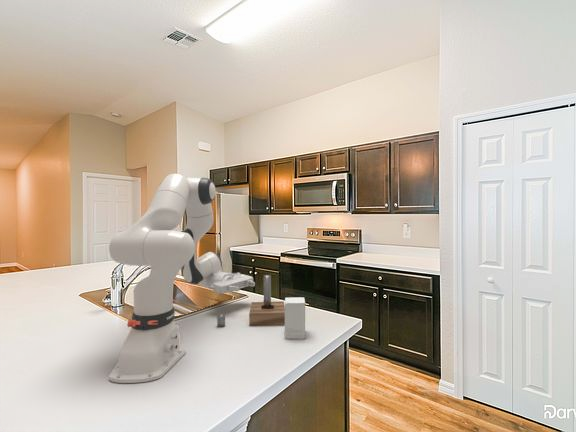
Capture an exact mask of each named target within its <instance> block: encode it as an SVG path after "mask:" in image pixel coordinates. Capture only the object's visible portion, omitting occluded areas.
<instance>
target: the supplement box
mask: <svg viewBox="0 0 576 432" xmlns="http://www.w3.org/2000/svg"><path fill="white" fill-rule="evenodd" d="M284 306H285V325H284V339H287V340H288V339H291V340H292V339H293V340H294V339H295V340H298V339H299V340H301V339H302V340H303V339H306V300H305V297H301V296H300V297H299V296H298V297H295V296H294V297H285V298H284Z"/></svg>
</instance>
